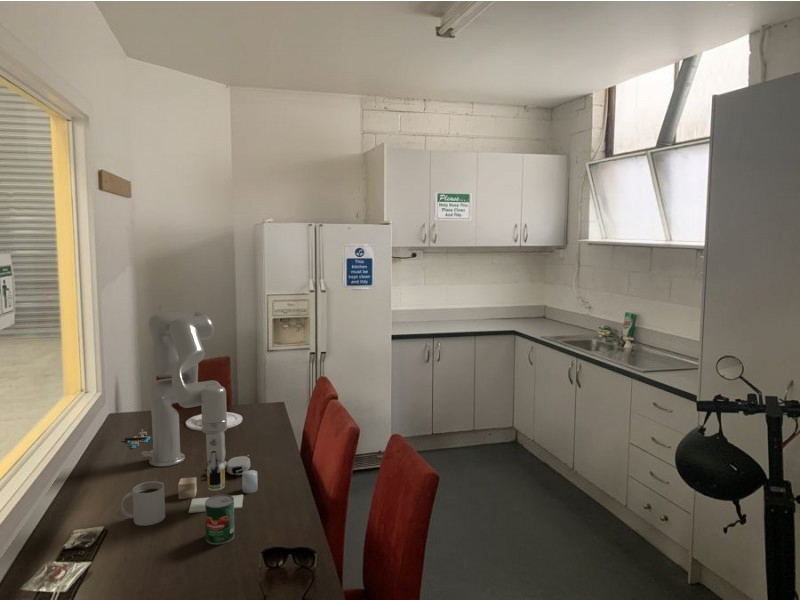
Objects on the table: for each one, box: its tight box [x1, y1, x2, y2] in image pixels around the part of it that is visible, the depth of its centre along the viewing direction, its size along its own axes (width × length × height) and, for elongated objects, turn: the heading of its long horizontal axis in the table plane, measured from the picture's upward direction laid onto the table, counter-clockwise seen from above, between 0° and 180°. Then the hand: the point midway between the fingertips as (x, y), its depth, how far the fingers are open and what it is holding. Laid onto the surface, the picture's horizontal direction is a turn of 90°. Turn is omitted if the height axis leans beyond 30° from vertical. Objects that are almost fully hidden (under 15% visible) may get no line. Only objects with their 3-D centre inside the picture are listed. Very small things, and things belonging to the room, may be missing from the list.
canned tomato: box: [204, 494, 236, 545], centre depth 168 cm, size 8×8×11 cm
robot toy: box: [223, 454, 252, 476], centre depth 214 cm, size 12×4×15 cm
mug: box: [120, 481, 166, 527], centre depth 178 cm, size 11×10×10 cm
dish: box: [185, 411, 243, 432], centre depth 272 cm, size 25×25×11 cm
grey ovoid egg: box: [241, 469, 259, 494], centre depth 199 cm, size 5×5×6 cm
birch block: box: [177, 476, 198, 500], centre depth 195 cm, size 5×5×5 cm
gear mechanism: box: [124, 428, 152, 449], centre depth 247 cm, size 20×5×9 cm
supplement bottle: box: [206, 461, 226, 492], centre depth 188 cm, size 5×5×10 cm
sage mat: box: [188, 494, 244, 514], centre depth 189 cm, size 16×9×1 cm, turn 102°
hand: (216, 480), depth 188 cm, fingers closed on supplement bottle, 5 cm apart
